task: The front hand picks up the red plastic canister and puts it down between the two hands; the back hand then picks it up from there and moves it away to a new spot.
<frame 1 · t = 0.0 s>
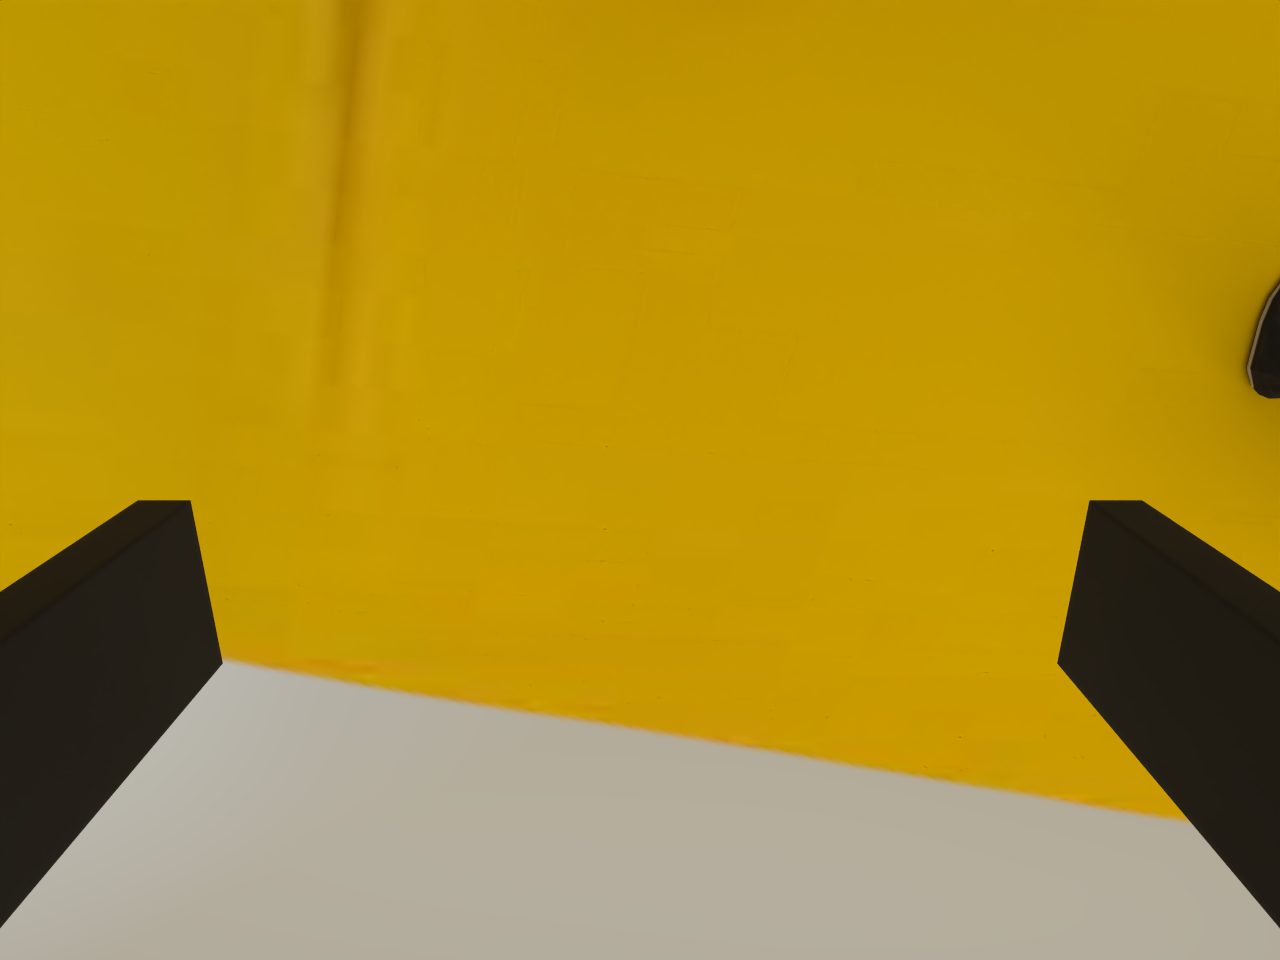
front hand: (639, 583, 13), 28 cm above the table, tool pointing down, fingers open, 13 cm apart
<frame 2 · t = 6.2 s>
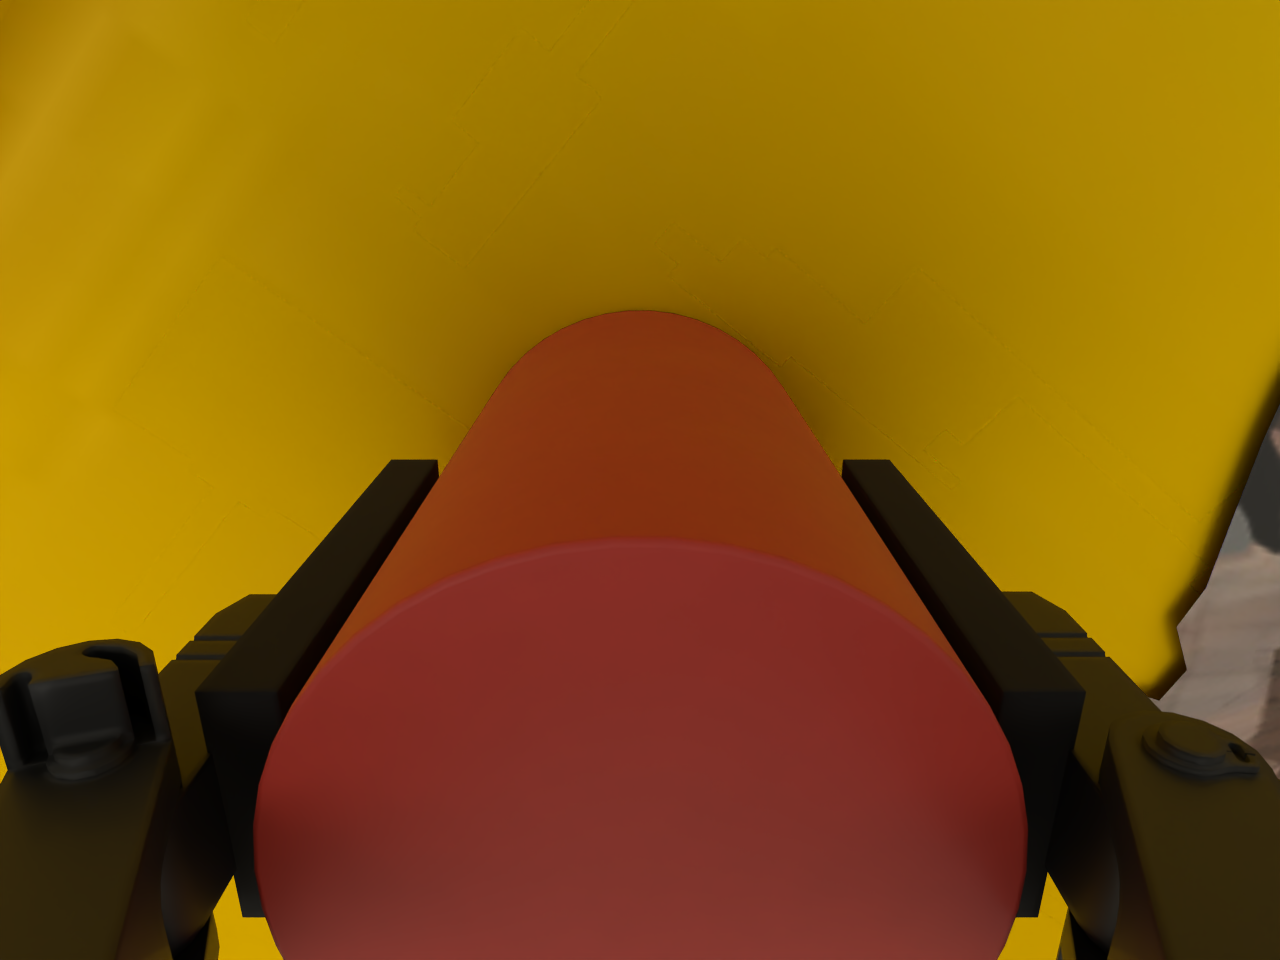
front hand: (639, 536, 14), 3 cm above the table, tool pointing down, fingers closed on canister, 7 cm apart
canister: (640, 475, 17), on the table, touching front hand
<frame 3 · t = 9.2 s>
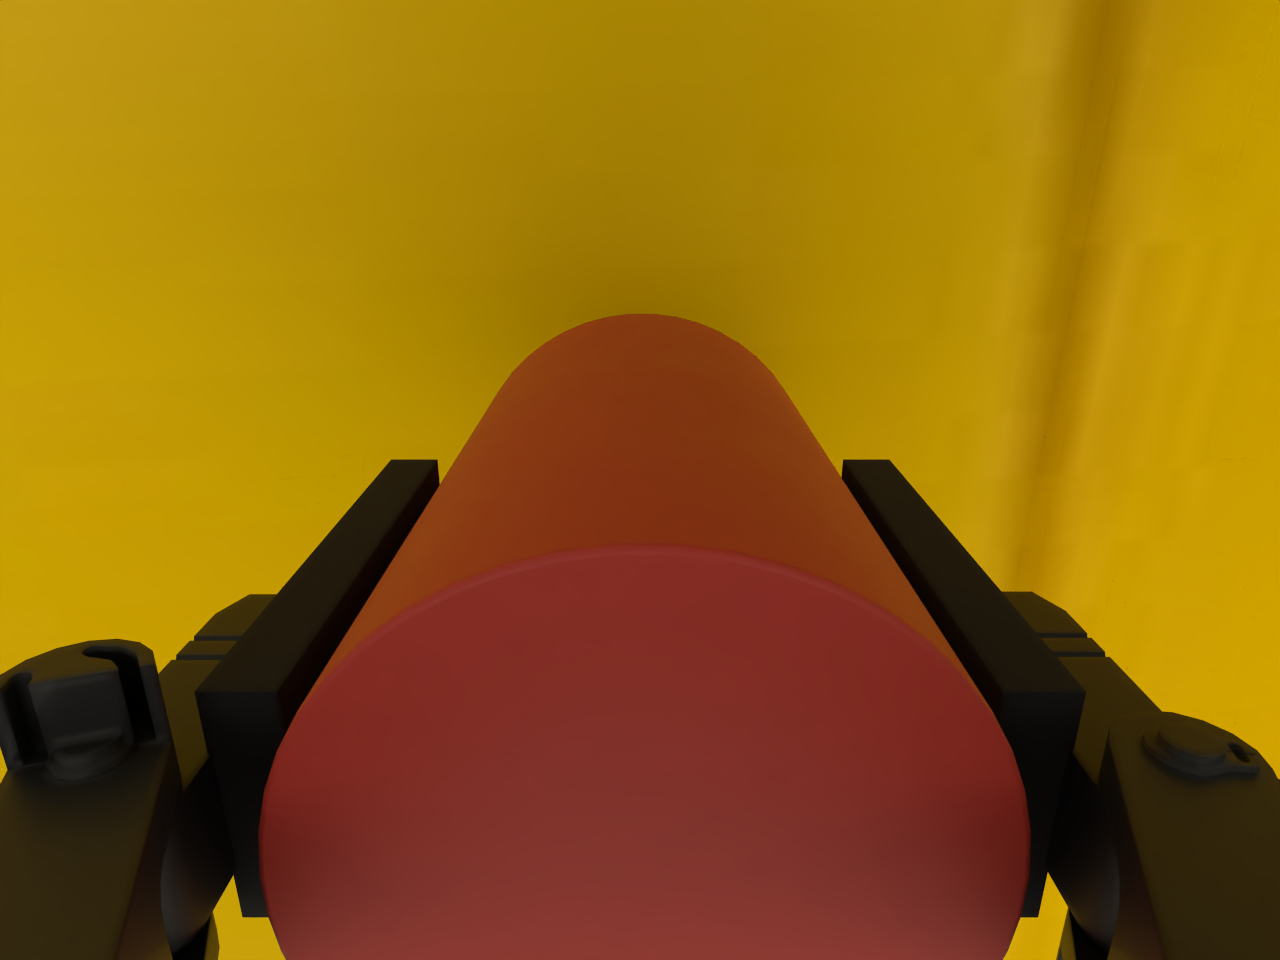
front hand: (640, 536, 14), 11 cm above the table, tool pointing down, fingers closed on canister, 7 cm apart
canister: (641, 478, 17), point 8 cm above the table, touching front hand
when the front hand's fingers open (5 cm above the table, at t = 12.7 s): canister drops 2 cm, on the table.
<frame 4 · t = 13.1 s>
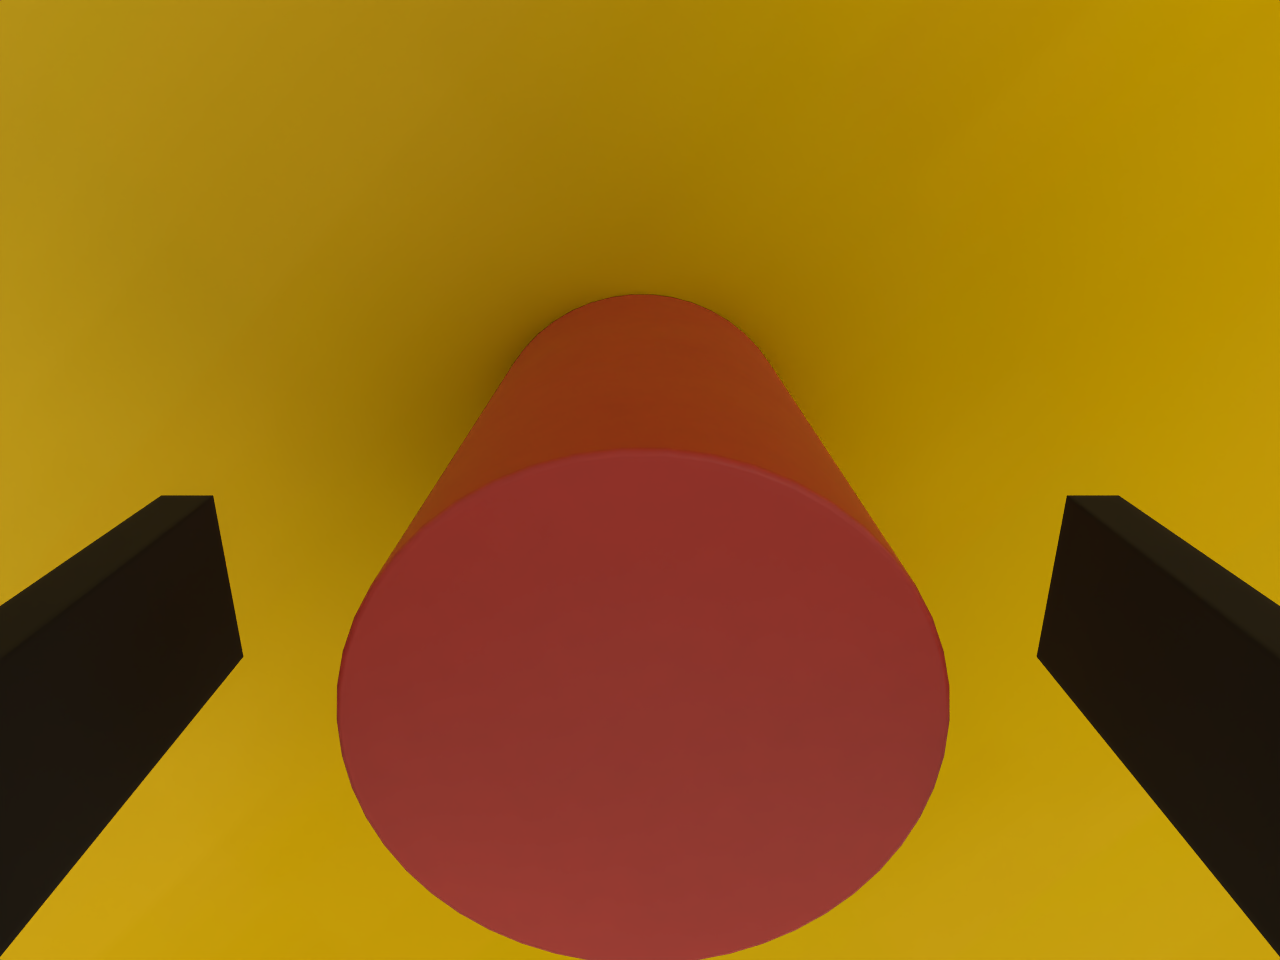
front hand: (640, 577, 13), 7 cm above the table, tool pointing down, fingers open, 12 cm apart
canister: (641, 444, 19), on the table
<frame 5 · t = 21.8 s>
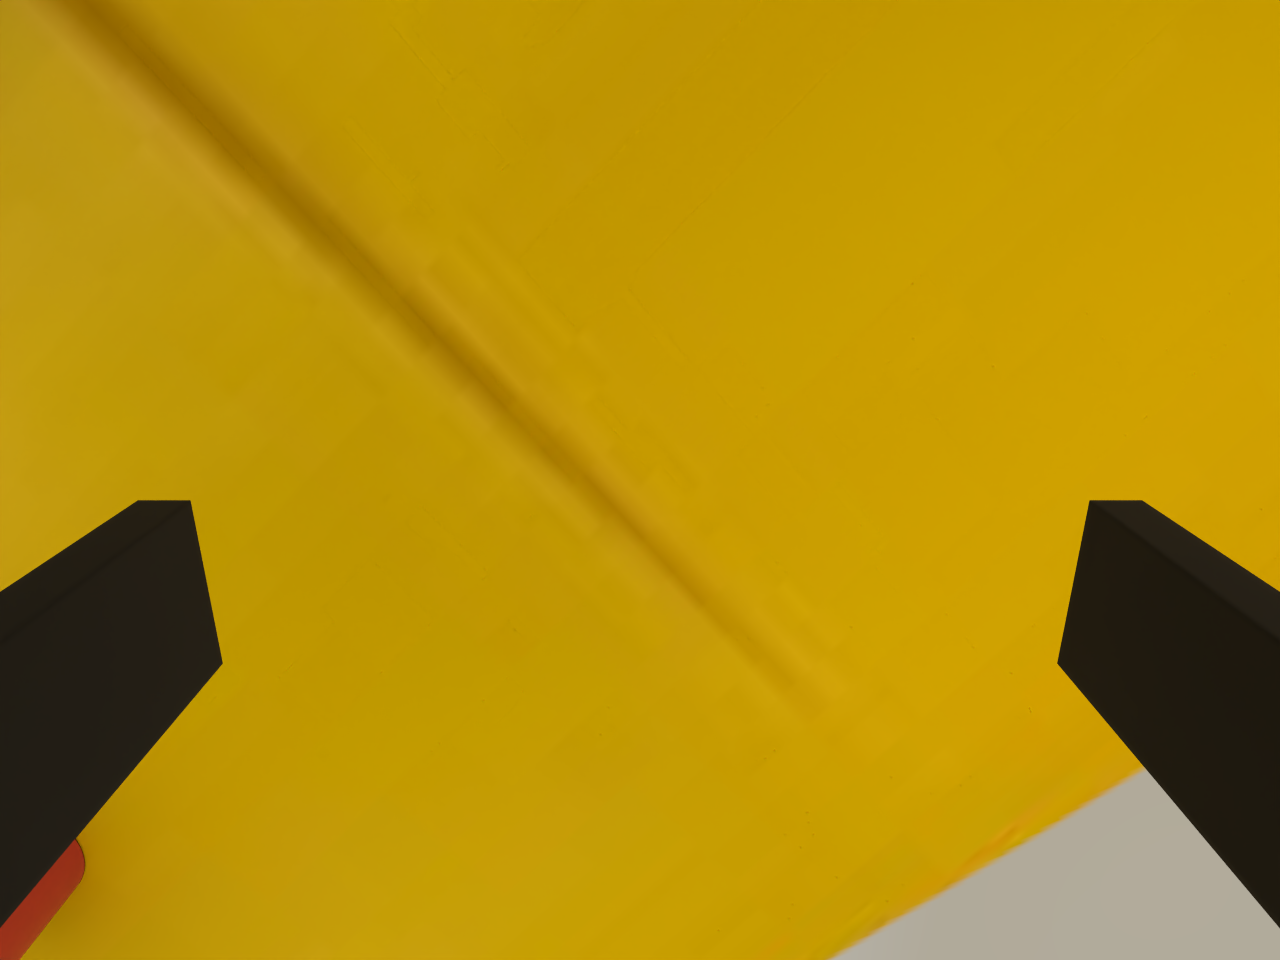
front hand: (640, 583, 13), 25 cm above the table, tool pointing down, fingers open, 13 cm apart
canister: (23, 854, 47), on the table, touching back hand
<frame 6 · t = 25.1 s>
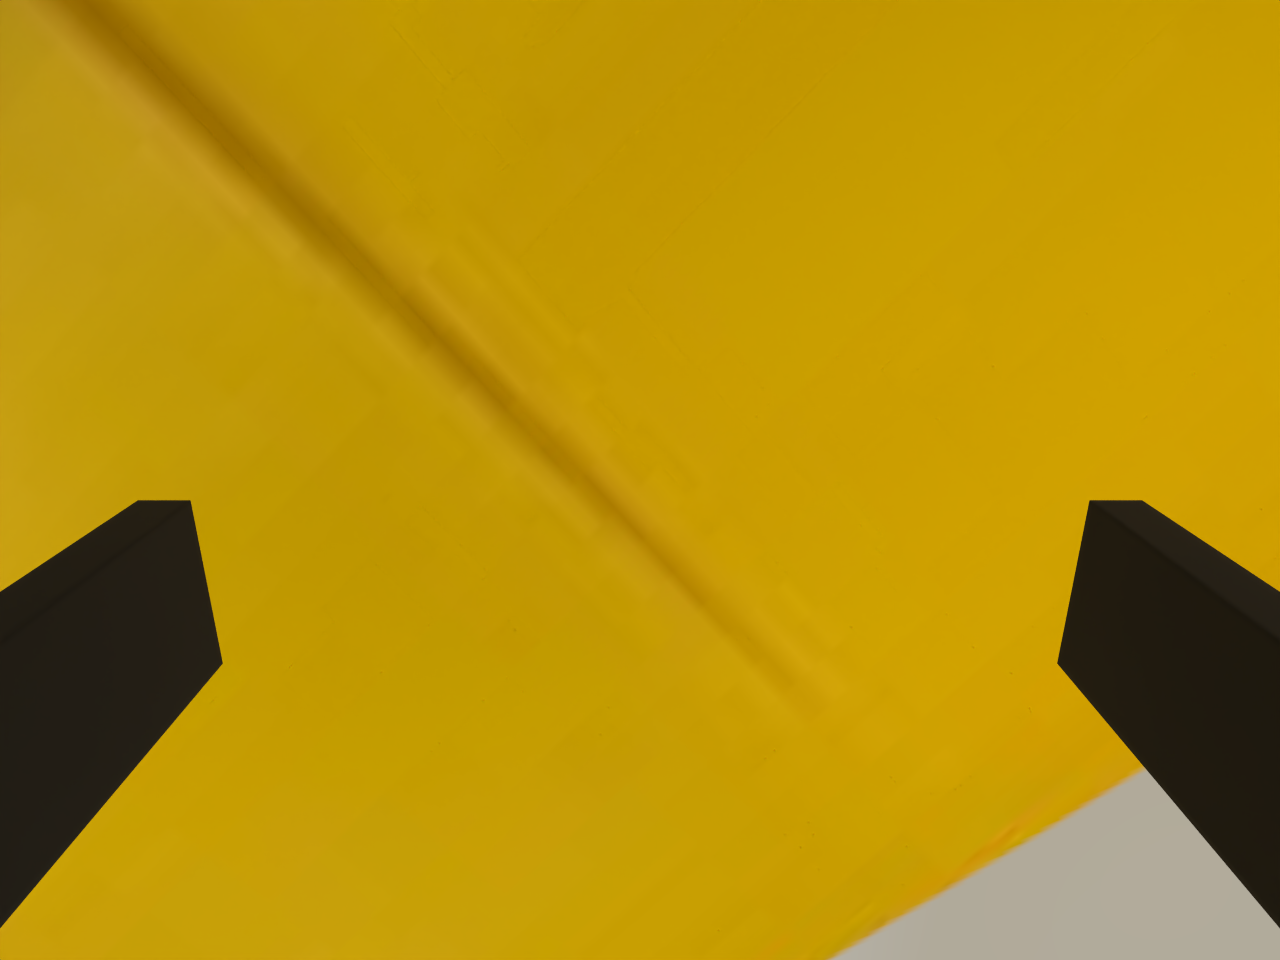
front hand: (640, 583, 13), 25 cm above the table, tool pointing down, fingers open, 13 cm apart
when the back hand's fingers open (5 cm above the table, at t = 28.3 s): canister drops 2 cm, on the table.
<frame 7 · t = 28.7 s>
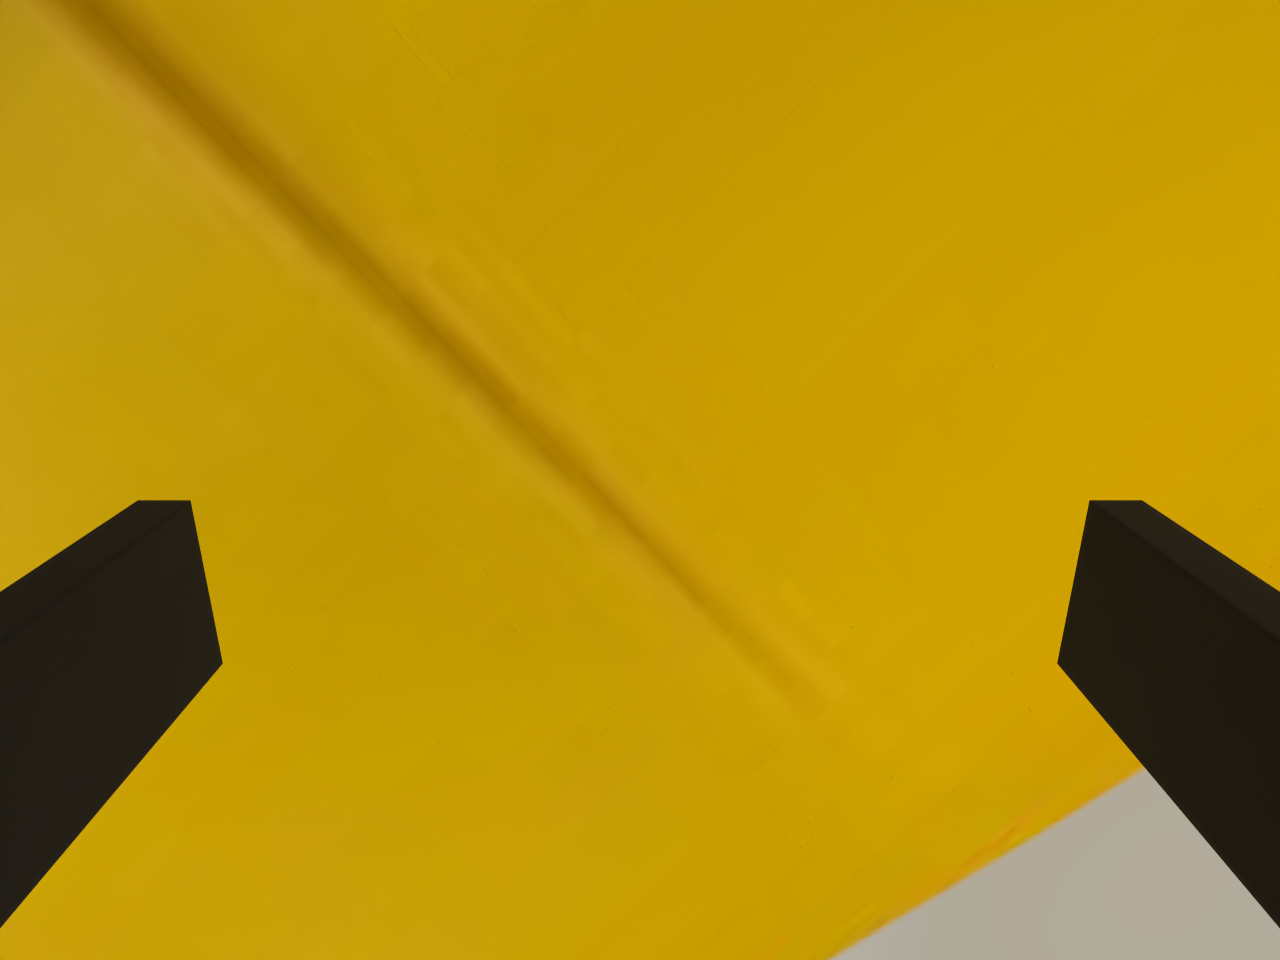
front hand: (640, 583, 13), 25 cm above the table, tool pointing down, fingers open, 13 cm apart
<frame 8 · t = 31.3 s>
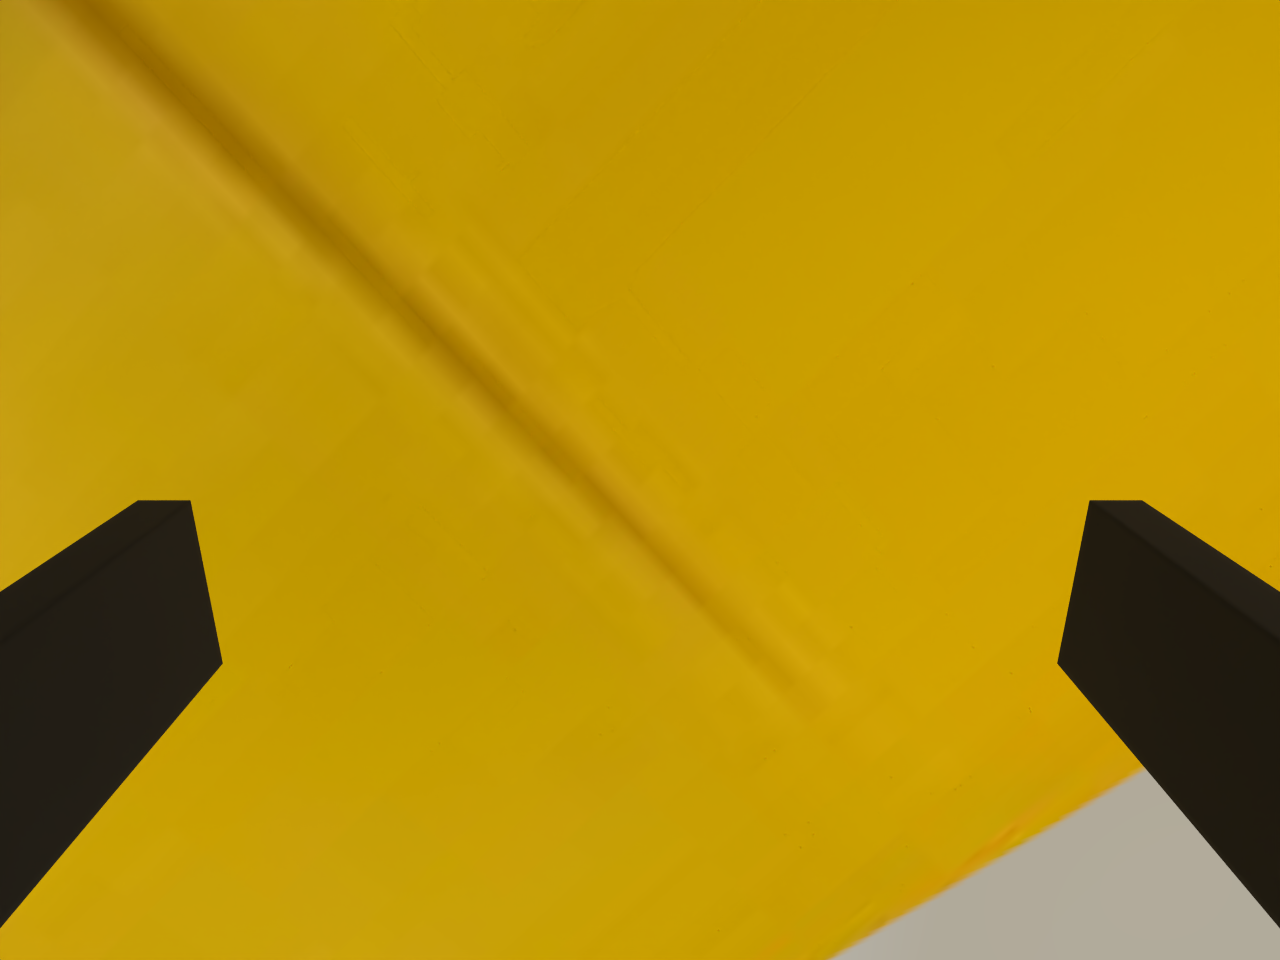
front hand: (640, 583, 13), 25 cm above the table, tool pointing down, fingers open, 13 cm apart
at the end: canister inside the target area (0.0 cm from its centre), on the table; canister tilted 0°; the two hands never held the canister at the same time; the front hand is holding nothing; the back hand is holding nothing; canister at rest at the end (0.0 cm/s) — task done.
